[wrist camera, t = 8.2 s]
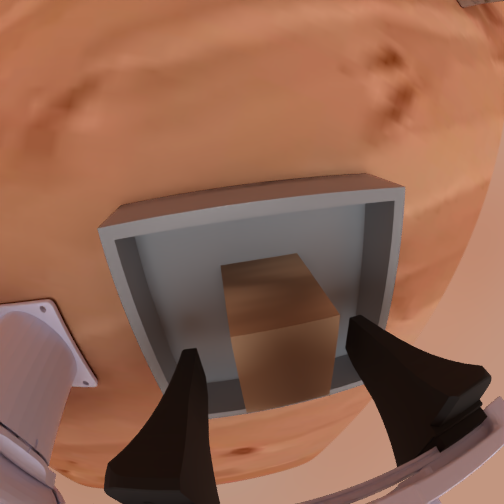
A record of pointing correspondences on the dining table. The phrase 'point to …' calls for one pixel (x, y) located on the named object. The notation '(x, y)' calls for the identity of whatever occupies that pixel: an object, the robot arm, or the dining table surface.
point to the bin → (246, 249)
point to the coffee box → (475, 2)
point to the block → (279, 331)
